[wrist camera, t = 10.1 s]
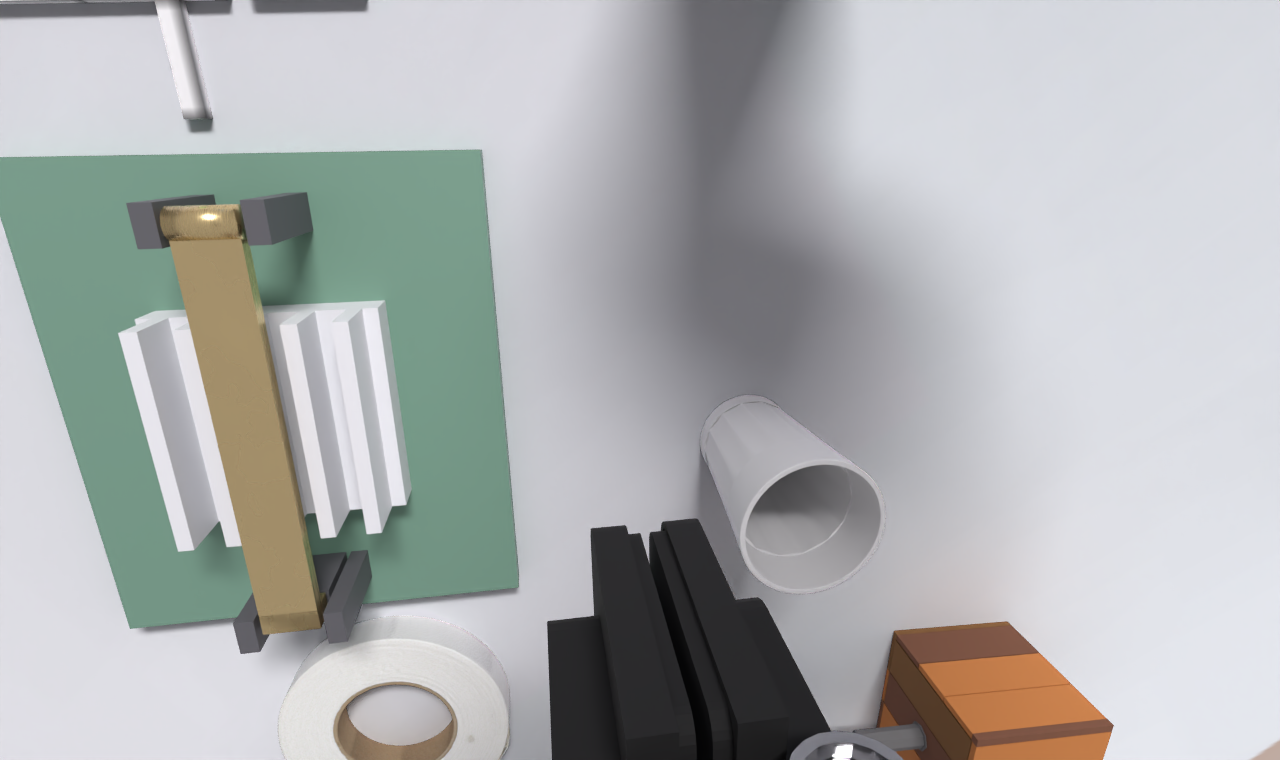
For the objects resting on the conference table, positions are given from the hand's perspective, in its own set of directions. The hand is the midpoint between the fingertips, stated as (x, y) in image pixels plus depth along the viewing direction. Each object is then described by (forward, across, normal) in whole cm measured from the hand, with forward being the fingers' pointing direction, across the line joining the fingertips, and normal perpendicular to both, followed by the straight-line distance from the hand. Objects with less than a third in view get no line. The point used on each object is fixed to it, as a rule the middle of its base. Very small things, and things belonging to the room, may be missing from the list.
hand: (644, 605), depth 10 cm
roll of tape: (+33, +13, +31) cm, 47 cm away
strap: (+26, +16, +7) cm, 31 cm away
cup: (+32, -12, +12) cm, 36 cm away
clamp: (+32, -25, +35) cm, 54 cm away
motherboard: (+32, +16, +7) cm, 37 cm away
